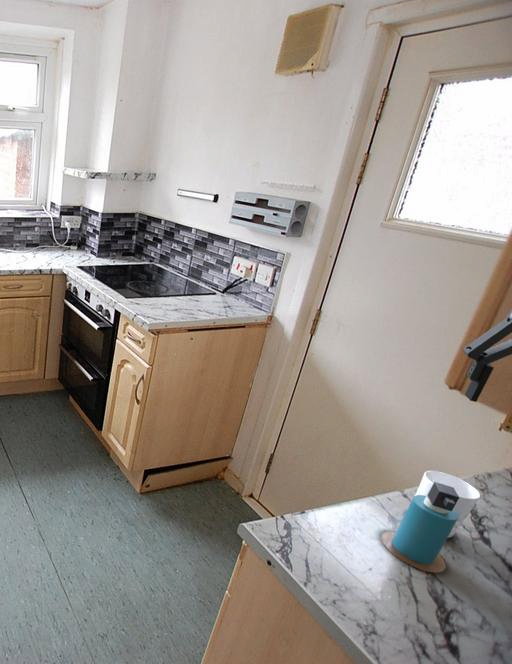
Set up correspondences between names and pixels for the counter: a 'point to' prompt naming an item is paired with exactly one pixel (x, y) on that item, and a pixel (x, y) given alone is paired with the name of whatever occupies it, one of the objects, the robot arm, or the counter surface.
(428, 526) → the spray bottle
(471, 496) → the white cup
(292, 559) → the counter surface
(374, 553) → the counter surface
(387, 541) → the coaster
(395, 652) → the counter surface
